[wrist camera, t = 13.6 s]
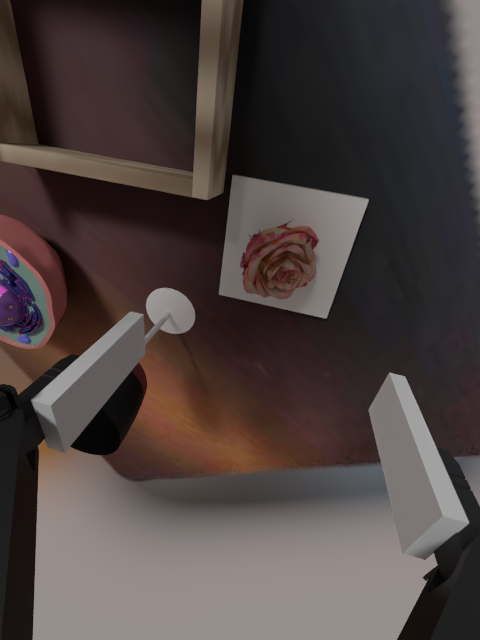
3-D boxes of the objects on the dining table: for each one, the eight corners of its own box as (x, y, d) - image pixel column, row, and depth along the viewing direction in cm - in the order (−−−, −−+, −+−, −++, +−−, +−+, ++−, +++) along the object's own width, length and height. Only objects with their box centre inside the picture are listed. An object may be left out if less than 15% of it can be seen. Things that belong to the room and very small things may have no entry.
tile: (234, 174, 30) (232, 175, 30) (367, 198, 29) (369, 199, 28) (220, 291, 38) (218, 294, 37) (326, 314, 36) (326, 318, 35)
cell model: (-1, 159, 35) (-117, 161, 25) (118, 285, 41) (60, 325, 31) (-44, 240, 43) (-146, 265, 33) (61, 336, 48) (0, 381, 39)
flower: (218, 262, 33) (236, 309, 29) (241, 190, 27) (269, 237, 23) (283, 266, 37) (308, 308, 32) (316, 205, 31) (352, 246, 27)
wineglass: (163, 273, 38) (48, 367, 21) (209, 317, 40) (138, 436, 23) (132, 306, 42) (13, 408, 25) (176, 345, 44) (94, 464, 27)
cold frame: (-38, -161, 22) (-216, -323, 15) (258, -142, 20) (227, -324, 12) (30, 156, 34) (-51, 157, 26) (223, 192, 32) (196, 204, 24)
